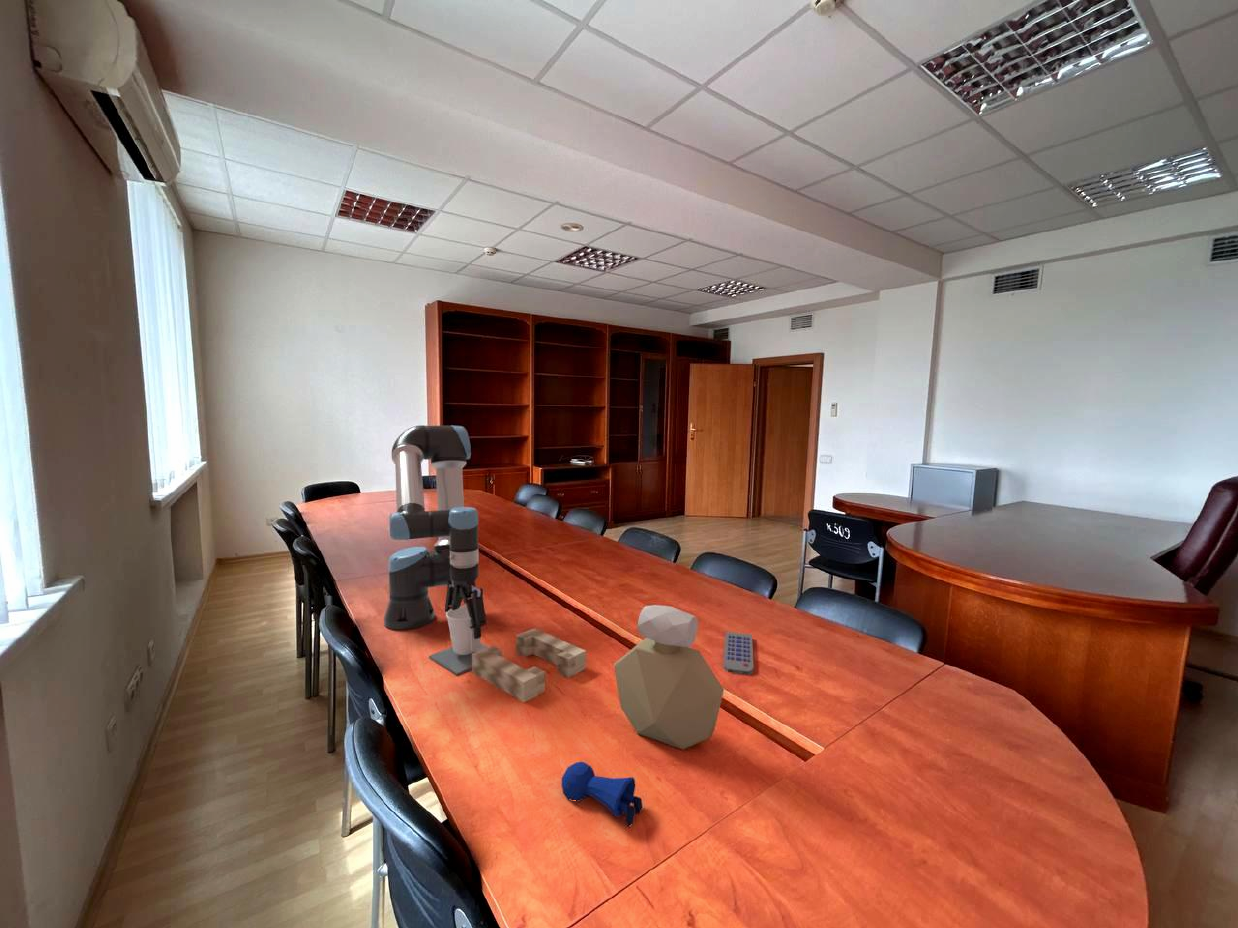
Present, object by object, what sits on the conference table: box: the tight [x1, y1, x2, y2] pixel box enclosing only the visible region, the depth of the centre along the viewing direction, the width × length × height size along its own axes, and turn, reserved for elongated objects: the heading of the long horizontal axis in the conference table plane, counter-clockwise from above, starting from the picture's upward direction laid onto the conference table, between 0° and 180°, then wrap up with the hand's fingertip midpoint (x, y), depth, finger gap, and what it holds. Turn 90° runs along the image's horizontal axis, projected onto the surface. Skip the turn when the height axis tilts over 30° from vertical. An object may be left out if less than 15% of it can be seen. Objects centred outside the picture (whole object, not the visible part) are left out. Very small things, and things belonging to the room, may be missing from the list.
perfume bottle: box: [613, 604, 725, 750], centre depth 103 cm, size 12×24×28 cm, turn 61°
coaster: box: [428, 643, 488, 676], centre depth 136 cm, size 14×14×1 cm
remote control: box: [722, 631, 754, 676], centre depth 140 cm, size 8×23×2 cm, turn 166°
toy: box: [561, 761, 643, 827], centre depth 86 cm, size 7×6×15 cm
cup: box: [445, 605, 476, 655], centre depth 135 cm, size 10×10×11 cm
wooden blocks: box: [471, 627, 587, 703], centre depth 129 cm, size 21×21×5 cm
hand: (465, 643), depth 136 cm, fingers closed on cup, 9 cm apart
